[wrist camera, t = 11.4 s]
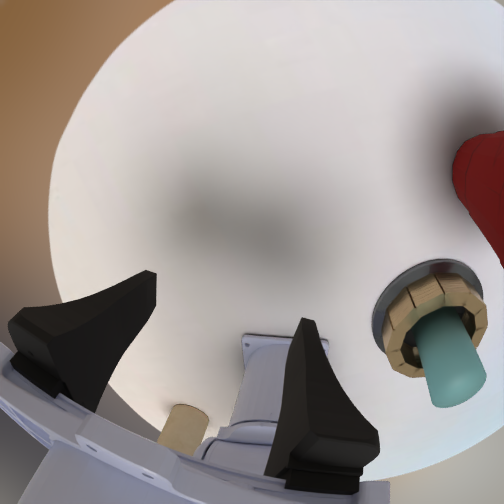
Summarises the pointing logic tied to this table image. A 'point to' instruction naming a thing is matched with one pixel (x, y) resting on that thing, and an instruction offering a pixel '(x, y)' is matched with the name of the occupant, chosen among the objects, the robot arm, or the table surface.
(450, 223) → the table surface
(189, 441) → the candle
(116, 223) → the table surface
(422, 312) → the ring holder
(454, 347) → the peg
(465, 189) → the plastic cup
